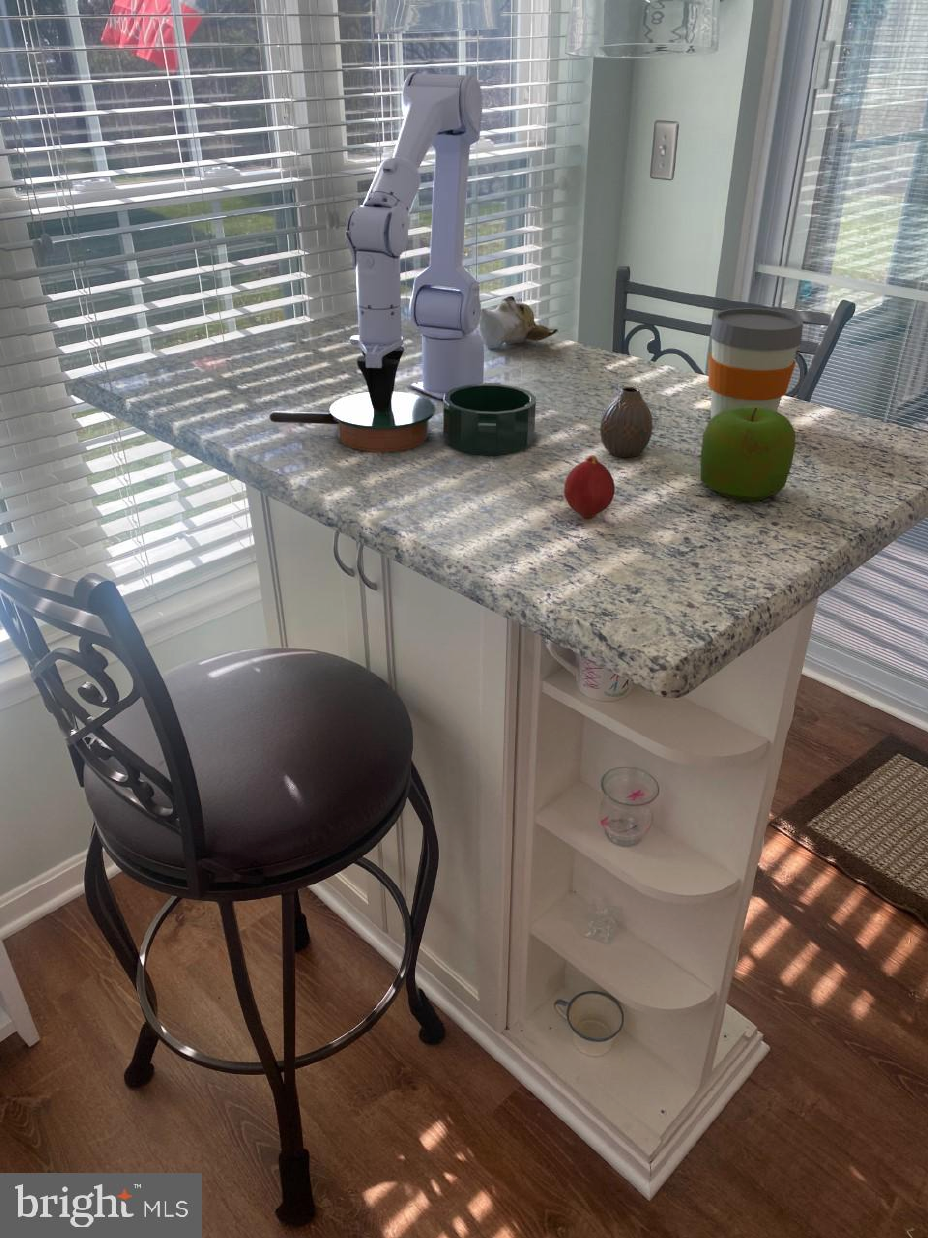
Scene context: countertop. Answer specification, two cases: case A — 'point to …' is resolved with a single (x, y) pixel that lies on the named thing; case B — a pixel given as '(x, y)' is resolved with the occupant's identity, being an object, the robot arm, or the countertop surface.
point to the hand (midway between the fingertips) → (382, 404)
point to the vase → (626, 424)
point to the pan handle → (302, 417)
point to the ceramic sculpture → (510, 324)
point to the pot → (489, 419)
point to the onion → (589, 488)
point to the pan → (383, 437)
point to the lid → (382, 411)
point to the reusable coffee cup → (752, 357)
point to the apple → (747, 452)
